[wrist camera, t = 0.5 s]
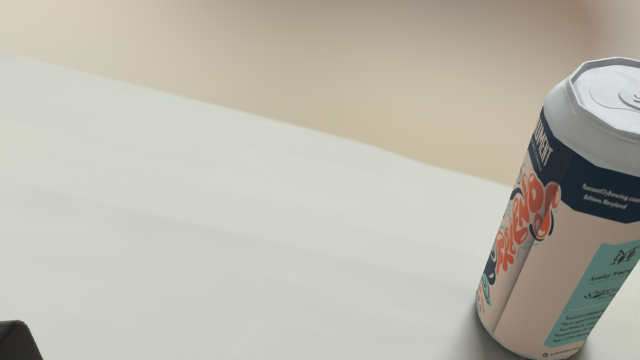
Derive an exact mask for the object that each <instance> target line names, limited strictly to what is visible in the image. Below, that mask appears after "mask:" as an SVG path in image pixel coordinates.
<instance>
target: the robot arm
mask: <svg viewBox="0 0 640 360" xmlns="http://www.w3.org/2000/svg"><path fill="white" fill-rule="evenodd" d="M0 360H43V358H42V356H41V354H40V352H39V349H38V347H37V345H36V343H35V341H34V338H33V336H32V334H31V332H30V330H29V328H28V326H27V325H26V324H25V323H24V322H23V321H20V320H10V321H0Z"/></svg>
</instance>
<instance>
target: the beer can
mask: <svg viewBox="0 0 640 360" xmlns="http://www.w3.org/2000/svg"><path fill="white" fill-rule="evenodd" d="M639 259H640V61H639V60H634V59H629V58H624V57H612V58H605V59H600V60H593V61H586V62H584V63H582V65H581V66H580V67H579V68H578V69H576V70H575V71H574V72H573V73H572V74H571V75H570V76H569V77H568V78H566V79H565V80H563V81H562V82H560V83H559V84H557V85H556V86H555V87H554V88H552V90H551V91H550V93H549V94H548V96H547V97H546V99H545V102H544V105H543V107H542V110H541V113H540V116H539V119H538V121H537V125H536V127H535V130H534V133H533V135H532V138H531V141H530V144H529V147H528V149H527V152H526V155H525V158H524V161H523V164H522V166H521V169H520V172H519V175H518V177H517V180H516V183H515V186H514V188H513V191H512V194H511V197H510V200H509V202H508V205H507V208H506V211H505V214H504V216H503V219H502V222H501V225H500V228H499V230H498V233H497V236H496V239H495V241H494V244H493V247H492V250H491V253H490V255H489V258H488V261H487V264H486V267H485V269H484V272H483V275H482V278H481V281H480V283H479V286H478V289H477V292H476V306H477V311H478V315H479V317H480V320H481V322H482V324H483V326H484V327H485V328H486V330H487V331H488V333H489V334H490V335H491V336H492V337H493V338H494V339H495V340H496V341H497V342H498V343H500V344H501V345H502V346H504V347H505V348H506V349H508V350H510V351H512V352H514V353H516V354H518V355H520V356H522V357H525V358H529V359H533V360H560V359H564V358H567V357H570V356H571V355H573V354H574V353H576V352H578V351H579V350H580V349H581V347H582V346H583V345H584V343H585V341H586V339H587V337H588V335H589V334H590V332H591V331H592V329H593V328H594V326H595V325H596V323H597V322H598V320H599V319H600V317H601V316H602V314H603V313H604V311H605V310H606V308H607V307H608V305H609V304H610V302H611V301H612V299H613V298H614V296H615V295H616V293H617V292H618V291H619V289H620V288H621V286H622V285H623V283H624V282H625V280H626V279H627V277H628V276H629V274H630V273H631V271H632V270H633V268H634V267H635V265H636V264H637V262H638V261H639Z"/></svg>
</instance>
